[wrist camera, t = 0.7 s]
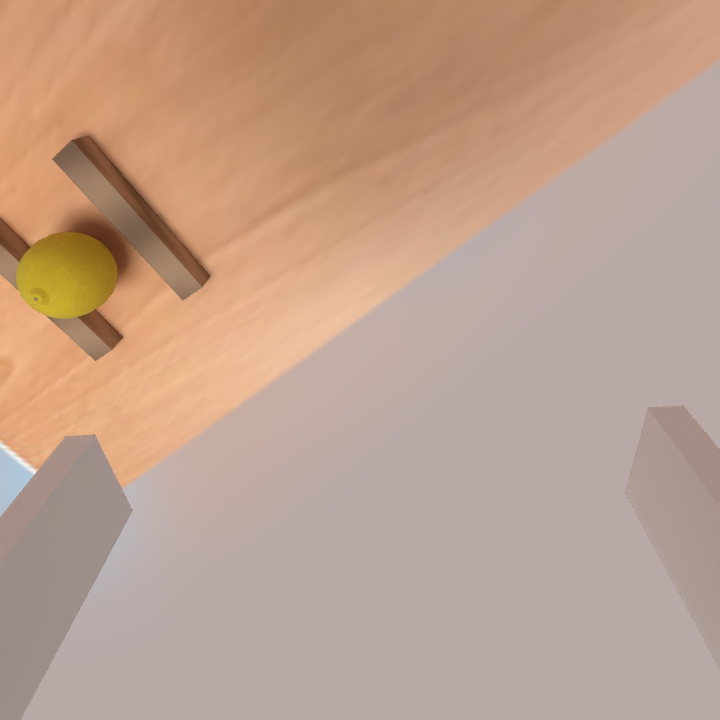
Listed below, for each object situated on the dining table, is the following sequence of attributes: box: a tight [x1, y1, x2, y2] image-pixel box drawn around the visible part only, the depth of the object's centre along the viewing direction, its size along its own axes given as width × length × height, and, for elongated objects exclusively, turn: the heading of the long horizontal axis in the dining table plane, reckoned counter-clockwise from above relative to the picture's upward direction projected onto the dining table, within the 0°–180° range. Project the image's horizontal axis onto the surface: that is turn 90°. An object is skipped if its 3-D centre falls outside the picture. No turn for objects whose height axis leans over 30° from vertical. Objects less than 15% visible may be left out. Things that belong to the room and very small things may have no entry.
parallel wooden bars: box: [0, 136, 210, 361], centre depth 37 cm, size 12×12×2 cm
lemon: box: [16, 232, 118, 319], centre depth 34 cm, size 6×6×8 cm
